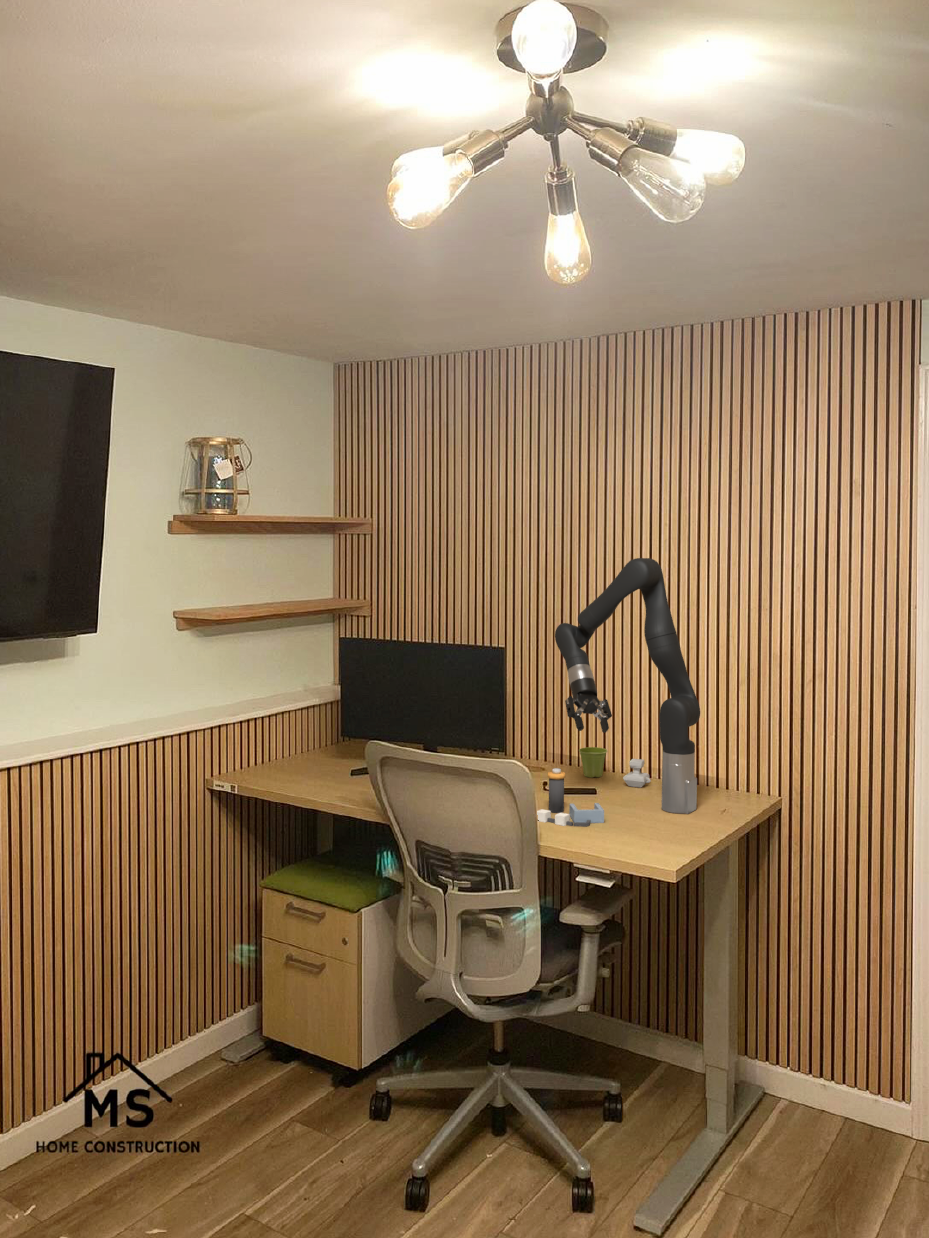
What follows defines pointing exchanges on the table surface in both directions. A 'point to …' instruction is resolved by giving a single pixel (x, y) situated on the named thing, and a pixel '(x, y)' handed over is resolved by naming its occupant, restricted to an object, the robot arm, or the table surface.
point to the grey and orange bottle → (556, 790)
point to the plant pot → (593, 761)
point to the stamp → (636, 774)
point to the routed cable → (559, 819)
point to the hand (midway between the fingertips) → (593, 730)
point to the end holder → (587, 814)
